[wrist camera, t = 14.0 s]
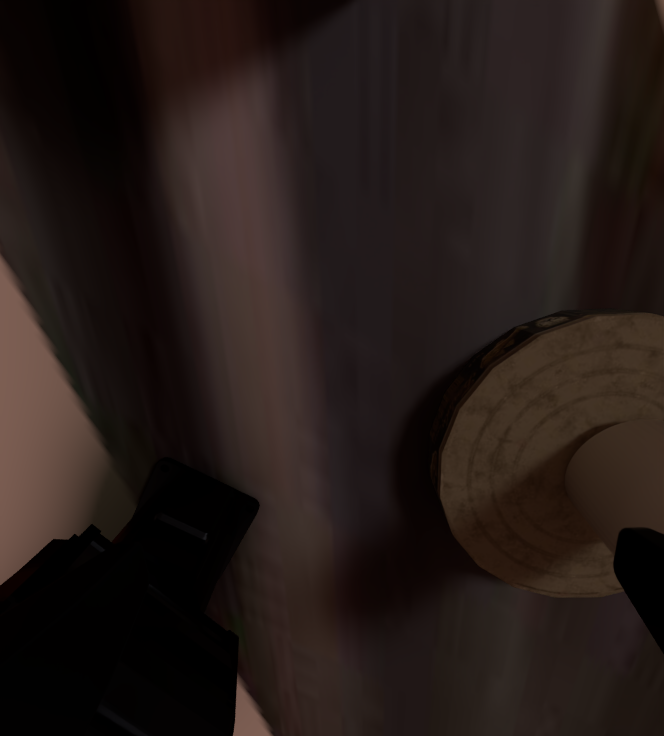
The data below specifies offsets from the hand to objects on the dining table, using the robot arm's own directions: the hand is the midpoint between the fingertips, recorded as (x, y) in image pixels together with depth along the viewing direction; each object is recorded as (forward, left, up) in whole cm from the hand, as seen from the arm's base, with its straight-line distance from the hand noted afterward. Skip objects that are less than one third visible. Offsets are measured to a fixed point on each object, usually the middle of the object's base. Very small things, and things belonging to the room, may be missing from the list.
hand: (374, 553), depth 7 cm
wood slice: (+2, -13, -14) cm, 19 cm away
